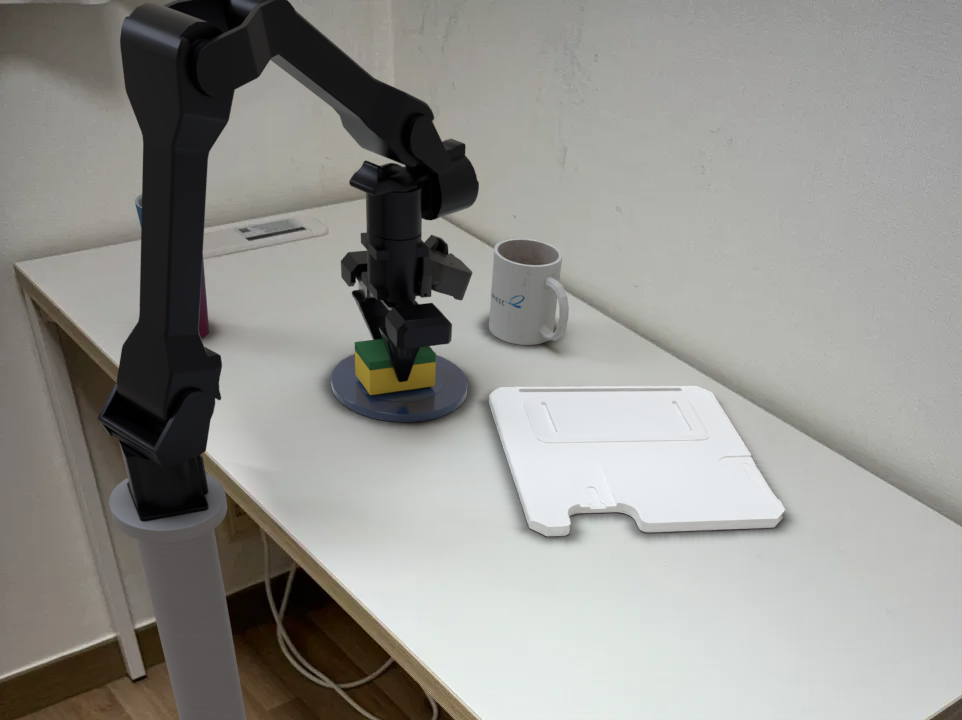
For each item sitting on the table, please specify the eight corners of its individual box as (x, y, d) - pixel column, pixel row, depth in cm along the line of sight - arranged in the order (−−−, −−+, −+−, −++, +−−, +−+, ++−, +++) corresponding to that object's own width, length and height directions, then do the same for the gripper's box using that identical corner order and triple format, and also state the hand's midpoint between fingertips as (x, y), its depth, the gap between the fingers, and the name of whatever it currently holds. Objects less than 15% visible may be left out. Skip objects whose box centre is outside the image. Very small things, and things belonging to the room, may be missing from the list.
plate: (358, 431, 109) (358, 423, 108) (313, 364, 118) (312, 355, 117) (488, 410, 115) (489, 402, 114) (436, 347, 124) (436, 340, 123)
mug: (477, 319, 130) (482, 242, 123) (533, 311, 134) (541, 235, 127) (521, 362, 124) (528, 282, 116) (579, 352, 127) (589, 274, 120)
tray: (787, 527, 104) (791, 515, 103) (532, 536, 98) (533, 524, 97) (705, 394, 123) (708, 383, 122) (486, 396, 117) (487, 384, 116)
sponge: (370, 395, 111) (369, 362, 109) (355, 374, 114) (354, 341, 111) (435, 386, 114) (436, 353, 112) (419, 366, 117) (419, 333, 114)
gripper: (501, 259, 100) (491, 400, 111) (431, 192, 111) (428, 326, 122) (399, 269, 96) (398, 414, 107) (336, 198, 106) (342, 337, 118)
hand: (394, 370), depth 113 cm, fingers closed on sponge, 5 cm apart
